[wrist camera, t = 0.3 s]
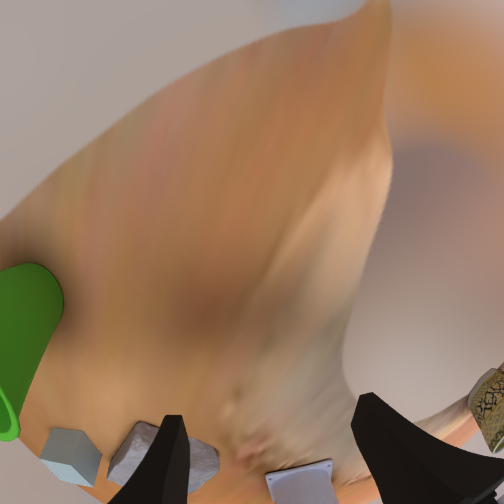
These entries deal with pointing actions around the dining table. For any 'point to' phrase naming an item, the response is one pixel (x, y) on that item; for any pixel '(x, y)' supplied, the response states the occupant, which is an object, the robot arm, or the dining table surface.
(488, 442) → the ceramic cup
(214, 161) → the dining table surface
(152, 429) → the stone block
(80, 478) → the cube
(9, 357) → the cup
